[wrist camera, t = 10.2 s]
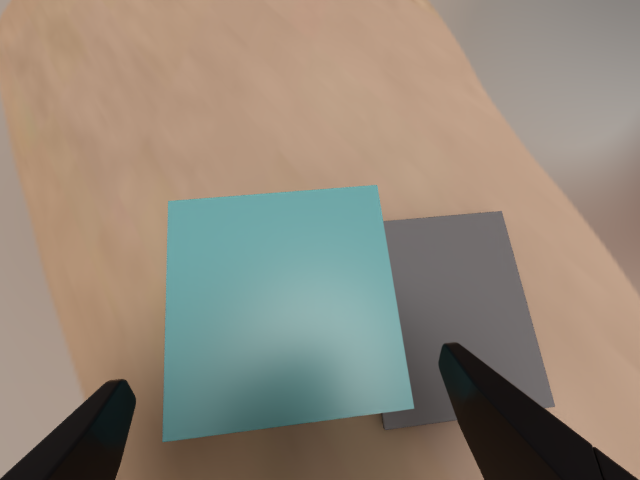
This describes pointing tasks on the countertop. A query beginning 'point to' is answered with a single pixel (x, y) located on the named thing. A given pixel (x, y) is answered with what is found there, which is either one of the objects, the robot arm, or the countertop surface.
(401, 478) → the countertop surface
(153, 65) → the countertop surface
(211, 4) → the countertop surface
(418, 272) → the mat
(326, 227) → the teal rectangular block
